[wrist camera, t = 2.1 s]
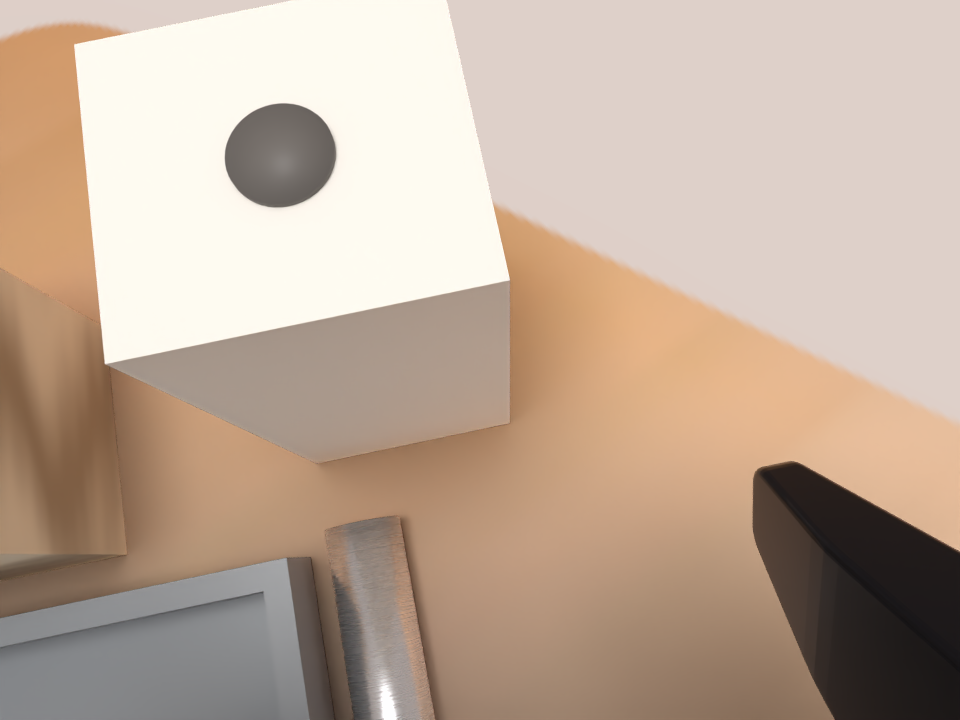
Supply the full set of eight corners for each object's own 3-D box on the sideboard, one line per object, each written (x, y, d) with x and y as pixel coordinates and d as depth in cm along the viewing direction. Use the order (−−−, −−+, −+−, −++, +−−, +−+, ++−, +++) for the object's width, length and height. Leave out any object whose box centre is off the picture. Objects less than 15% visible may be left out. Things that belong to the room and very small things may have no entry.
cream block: (509, 423, 20) (509, 276, 10) (316, 463, 20) (100, 362, 10) (474, 260, 22) (438, -35, 11) (290, 298, 21) (70, 39, 11)
